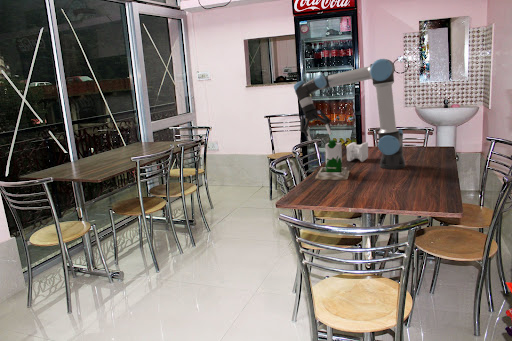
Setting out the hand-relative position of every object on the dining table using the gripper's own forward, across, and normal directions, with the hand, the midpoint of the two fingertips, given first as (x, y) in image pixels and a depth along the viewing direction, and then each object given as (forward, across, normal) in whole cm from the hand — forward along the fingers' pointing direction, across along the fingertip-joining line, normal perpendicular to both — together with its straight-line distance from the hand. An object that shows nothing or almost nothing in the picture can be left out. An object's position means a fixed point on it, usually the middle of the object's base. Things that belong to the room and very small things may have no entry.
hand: (320, 137), depth 261 cm
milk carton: (+24, +3, +5) cm, 24 cm away
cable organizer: (+18, -30, -26) cm, 44 cm away
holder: (+24, +4, +5) cm, 25 cm away
